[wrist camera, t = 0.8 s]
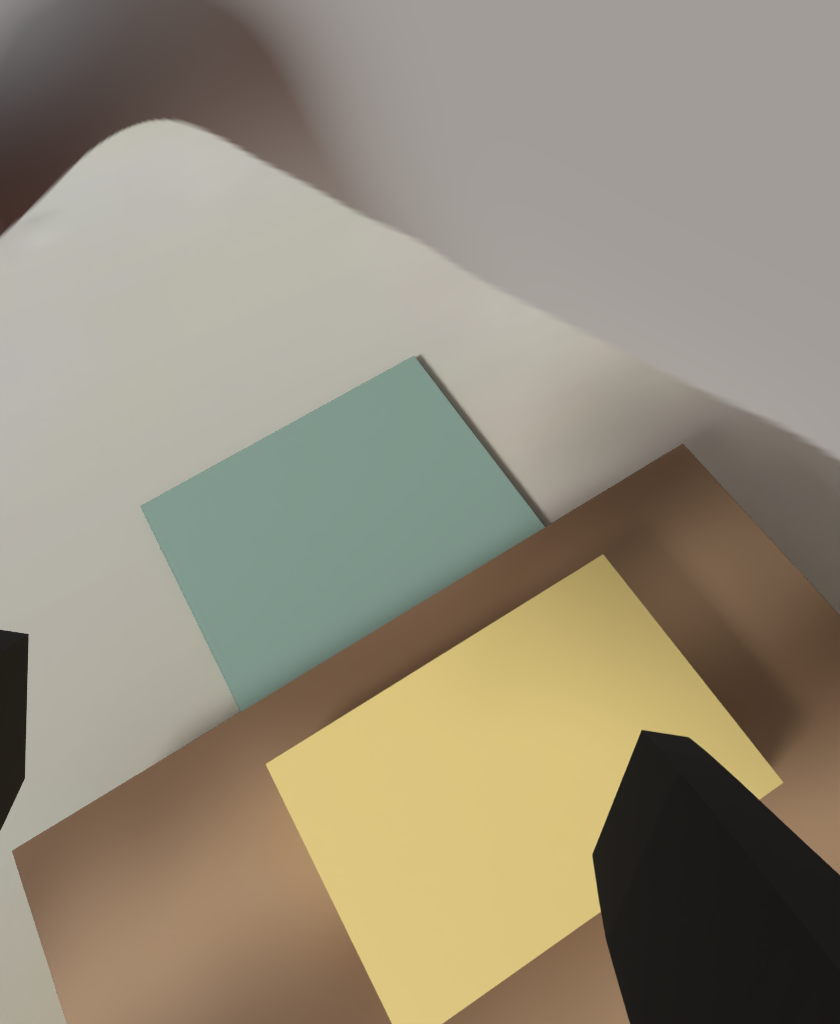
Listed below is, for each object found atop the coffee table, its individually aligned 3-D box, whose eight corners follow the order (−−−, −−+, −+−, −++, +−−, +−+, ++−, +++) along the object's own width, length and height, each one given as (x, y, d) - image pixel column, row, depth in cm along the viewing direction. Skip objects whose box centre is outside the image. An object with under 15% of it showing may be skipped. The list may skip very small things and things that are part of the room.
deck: (1015, 926, 19) (1133, 936, 16) (316, 1477, 16) (264, 1645, 13) (656, 506, 25) (682, 443, 22) (91, 856, 22) (12, 850, 19)
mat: (558, 549, 25) (559, 545, 25) (254, 735, 23) (251, 734, 23) (415, 360, 29) (413, 355, 28) (143, 509, 27) (140, 506, 27)
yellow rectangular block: (754, 793, 18) (783, 782, 16) (415, 1031, 16) (404, 1050, 14) (593, 583, 20) (603, 554, 18) (288, 775, 19) (265, 764, 17)
